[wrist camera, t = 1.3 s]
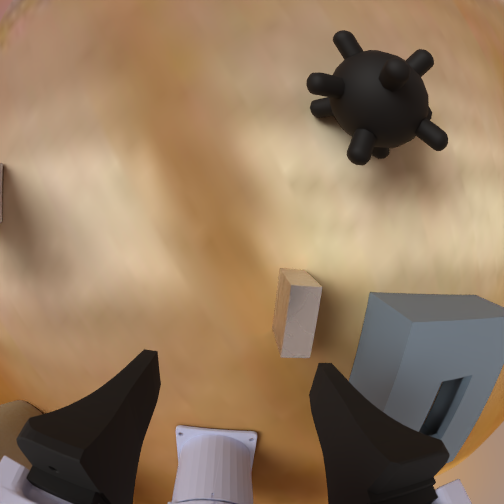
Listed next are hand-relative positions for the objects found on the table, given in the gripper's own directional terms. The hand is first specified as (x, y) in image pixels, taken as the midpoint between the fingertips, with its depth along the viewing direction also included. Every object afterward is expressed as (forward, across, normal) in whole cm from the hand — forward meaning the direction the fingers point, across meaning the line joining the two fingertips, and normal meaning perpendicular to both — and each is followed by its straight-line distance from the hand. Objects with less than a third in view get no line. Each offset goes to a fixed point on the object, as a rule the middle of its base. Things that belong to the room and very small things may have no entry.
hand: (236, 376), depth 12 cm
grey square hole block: (+10, -18, +9) cm, 22 cm away
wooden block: (+11, -4, +1) cm, 12 cm away
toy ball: (+14, -8, -14) cm, 21 cm away
